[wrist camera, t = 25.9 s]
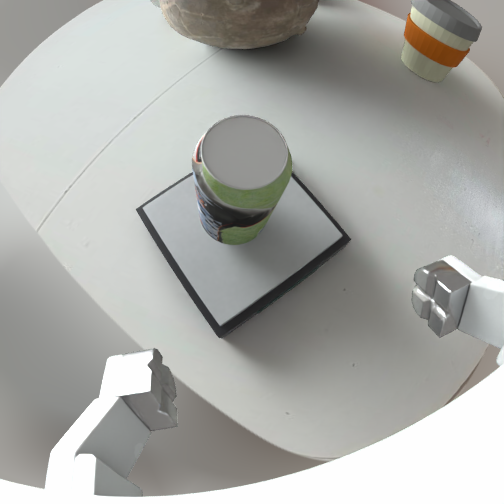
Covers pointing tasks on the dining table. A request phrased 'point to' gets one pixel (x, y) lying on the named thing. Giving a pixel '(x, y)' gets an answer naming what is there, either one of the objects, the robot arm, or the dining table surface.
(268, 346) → the dining table surface
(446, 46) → the reusable coffee cup
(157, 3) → the elbow connector
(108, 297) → the dining table surface
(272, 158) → the beverage can
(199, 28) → the bowl
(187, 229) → the kitchen scale
